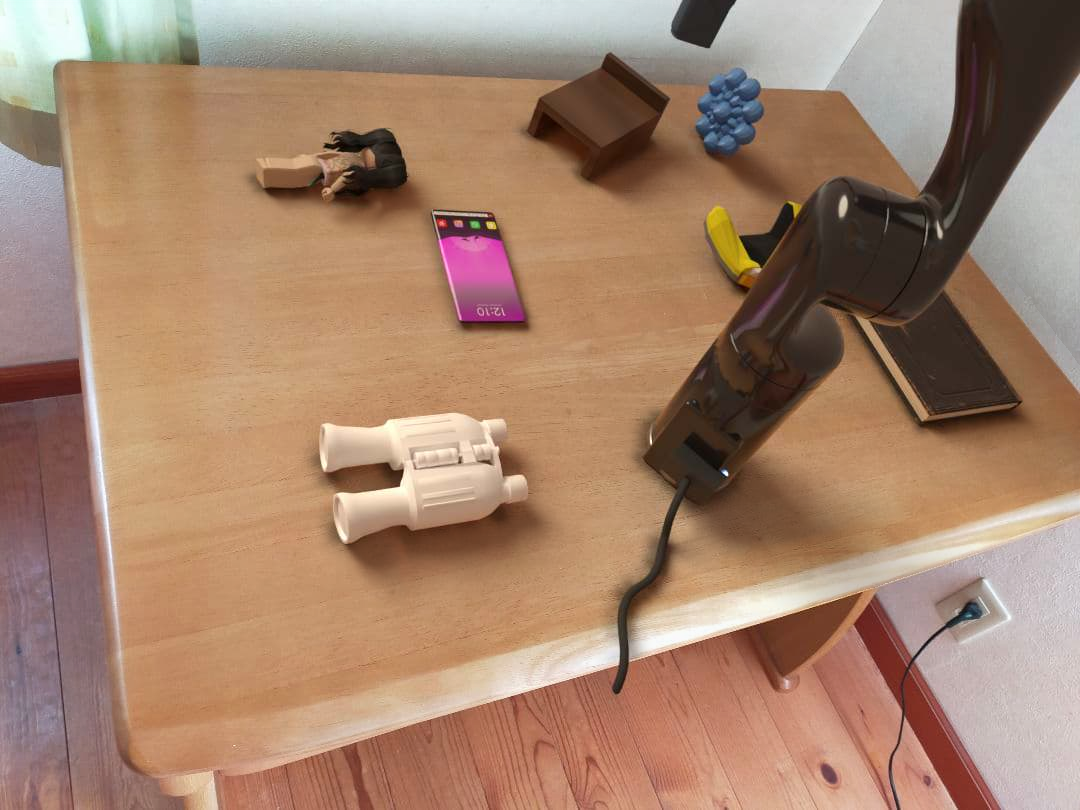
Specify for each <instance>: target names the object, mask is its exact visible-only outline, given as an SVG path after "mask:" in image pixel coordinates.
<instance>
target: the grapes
mask: <svg viewBox="0 0 1080 810" xmlns="http://www.w3.org/2000/svg"><path fill="white" fill-rule="evenodd" d="M761 89H762V86H761V83H760V81H759V80H758V79H757V78H753V77H748V75H747V72H746V71H745V70H744V69H743V68H739V67H736V68H732V69H731V70H729V72H727V73H726V74H722V73H720V74H716V75H715V76H713V77H712V78H711V80H710V81H709V83H708V91H709V92H707V93H704V94H702V95H701V96H700V97H699V99H698V100H697V104H696V106H697V109H698V111H699V112H700V114H702V116H700V117H699V118H698V119H697V121H696V122H695V125H694V127H695V128H694V129H695V132H696V133H697V134H698V135H699V136H701V137H703V141H702V144H703V148H704V149H705V150H706V152H708V153H711V154H715V153H718V152H719V153H720V154H721V155H722V157H723V156H724V157H727V158H729V157H733V156H735V155H736V154H737V153H738V151H740V147H741V146H746V145H749V144H751V143H752V142H754V140H755V138H756V135H757V134H756V133H757V130H756V127H755V126H754V125H753V124H755V123H759V121H760V120H761V119H762V118H763V116H764V115H765V114H764V113H765V106H764V104H763V103H762V102H761V101H760V100H757V99H758V97H759V96H760V94H761V91H762V90H761Z"/></svg>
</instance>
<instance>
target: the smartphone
mask: <svg viewBox="0 0 1080 810" xmlns="http://www.w3.org/2000/svg"><path fill="white" fill-rule="evenodd" d="M430 217H431V221H432V224H433V229H434V232H435V236H436V240H437V244H438V247H439V251H440V256H441V259H442V263H443V267H444V270H445V274H446V278H447V282H448V286H449V289H450V293H451V297H452V302H453V305H454V309H455V312H456V316H457V320H458V322H459V323H460V324H524V323H526V322H527V316H526V314H525V311H524V307H523V304H522V300H521V298H520V294H519V291H518V287H517V284H516V281H515V278H514V274H513V271H512V269H511V265H510V262H509V258H508V256H507V255H508V254H507V253H506V248H505V246H504V243H503V239H502V235H501V233H500V230H499V229H500V228H499V226H498V223H497V220H496V216H495V214H494V213H493V212H492V211H474V210H473V211H472V210H455V209H454V210H453V209H432V210H431V211H430Z"/></svg>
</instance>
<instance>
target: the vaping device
mask: <svg viewBox="0 0 1080 810" xmlns="http://www.w3.org/2000/svg"><path fill="white" fill-rule="evenodd" d="M736 2H737V0H681V2H680V3H679V6H678V8H677V10H676V13H675V15H674V16H673V19H672V21H671V24H670V33H671V36H672V37H674V38H675V39H676V40H678V41H682V42H684V43H687V44H691V45H693V46H697V47H700V48H705V49H711V47H712V45H713V43H714V41H715V40H716V37H717V35H718V33H719V32H720V30H721V28H722V26H723V24H724V22H725V20H726V19H727V16H728V15H729V13H730V10H731V9H732V8H733V7H734V6H735V4H736Z"/></svg>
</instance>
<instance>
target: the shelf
mask: <svg viewBox="0 0 1080 810" xmlns="http://www.w3.org/2000/svg"><path fill="white" fill-rule="evenodd" d="M670 101H671V97H669V95H667V94H666V93H664V91H662V90H660V89H659V88H658V87H657V86H656V85H654V84H653V83H651V82H650V81H649V80H648V79H646V78H645V77H643V75H641V74H640V73H638V72H637V71H636V70H635V69H634V68H632V67H630V66H629V65H628V64H627V63H625V62H624V60H622V59H620V58H619V57H618V56H617V55H615V54H614V53H612V52H611V51H610V52H608V53H606V54H605V56H604V58H603V61H602V63H601V66H600V67H599V68H597V69H595V70H592V71H590V72H588V73H587V74H584V75H582V76H580V77H578V78H576V79H574V80H572V81H570V82H568V83H566V84H564V85H562V86H560V87H557V88H555V89H554V90H552V91H549V92H548V93H546V94H544V95H540V96H539V97H538V99H537V102H536V105H535V108H534V111H533V113H532V116H531V118H530V121H529V124H528V127H527V129H526V132H527V133H528V134H530V135H531V136H532V137H536V136H538V135H540V134H542V133H543V132H546V131H548V130H549V129H552V128H553V127H555V126H557V125H559V126H561V127H562V128H563V129H565V130H566V131H567V132H568V133H569V134H571V135H572V136H573V137H574V138H576V139H577V140H578V141H580V142H581V143H582V144H583V145H585V146H586V147H587V148H588V149H589V150H590V152H589V153H588V156H587V158H586V159H585V163H584V165H583V167H582V169H581V171H580V176H581V177H582V178H584V179H585V180H586V181H588V180H590V179H592V178H593V177H595V176H596V175H599V174H600V173H602V172H603V171H605V170H606V169H608V168H609V167H611V166H613V165H615V164H616V163H617V162H619V161H621V160H622V159H624V158H626V157H627V156H629V155H630V154H632V153H633V152H636V151H637V150H638V149H640V148H643V146H645V145H648V144H649V142H650V139H651V137H652V136H653V134H654V132H655V130H656V128H657V126H658V124H659V122H660V120H661V118H662V116H663V115H664V113H665V110H666V108H667V106H668V104H669V102H670Z"/></svg>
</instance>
